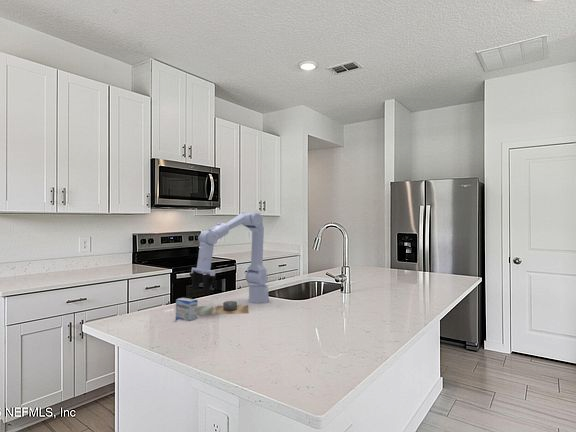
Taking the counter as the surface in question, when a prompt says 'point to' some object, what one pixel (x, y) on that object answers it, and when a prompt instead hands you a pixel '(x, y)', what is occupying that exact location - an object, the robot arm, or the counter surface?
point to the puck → (230, 306)
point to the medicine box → (186, 309)
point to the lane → (221, 310)
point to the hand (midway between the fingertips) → (200, 291)
